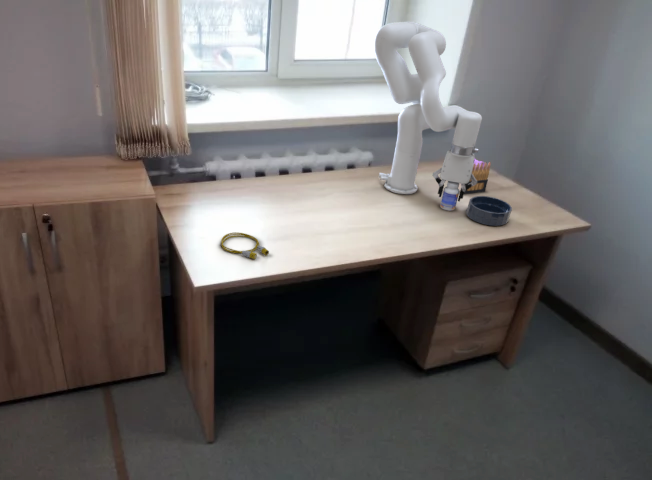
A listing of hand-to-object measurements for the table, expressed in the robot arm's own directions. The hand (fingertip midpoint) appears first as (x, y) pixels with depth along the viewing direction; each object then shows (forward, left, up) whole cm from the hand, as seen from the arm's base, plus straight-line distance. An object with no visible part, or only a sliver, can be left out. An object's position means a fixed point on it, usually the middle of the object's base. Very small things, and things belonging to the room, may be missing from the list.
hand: (449, 197), depth 189 cm
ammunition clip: (+7, +20, -4) cm, 22 cm away
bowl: (+14, -1, -4) cm, 14 cm away
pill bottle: (0, 0, -4) cm, 4 cm away
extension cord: (-52, -62, -4) cm, 81 cm away
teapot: (+3, +31, -4) cm, 31 cm away
